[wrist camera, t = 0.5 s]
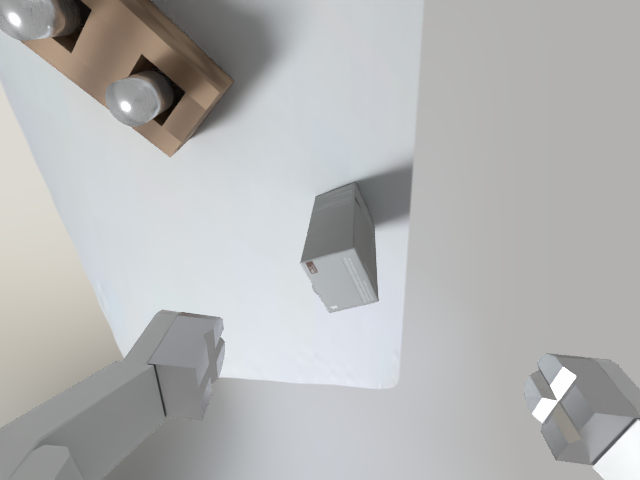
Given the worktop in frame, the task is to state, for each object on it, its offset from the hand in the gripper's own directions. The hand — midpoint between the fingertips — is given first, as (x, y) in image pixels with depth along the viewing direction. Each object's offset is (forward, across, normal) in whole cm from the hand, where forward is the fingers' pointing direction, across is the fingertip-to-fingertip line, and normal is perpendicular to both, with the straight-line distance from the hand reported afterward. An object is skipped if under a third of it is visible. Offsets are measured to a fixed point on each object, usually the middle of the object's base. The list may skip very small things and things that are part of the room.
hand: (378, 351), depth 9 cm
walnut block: (+36, +25, -5) cm, 44 cm away
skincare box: (+39, -1, +14) cm, 41 cm away
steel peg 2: (+32, +21, -1) cm, 38 cm away
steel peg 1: (+31, +29, -7) cm, 43 cm away
